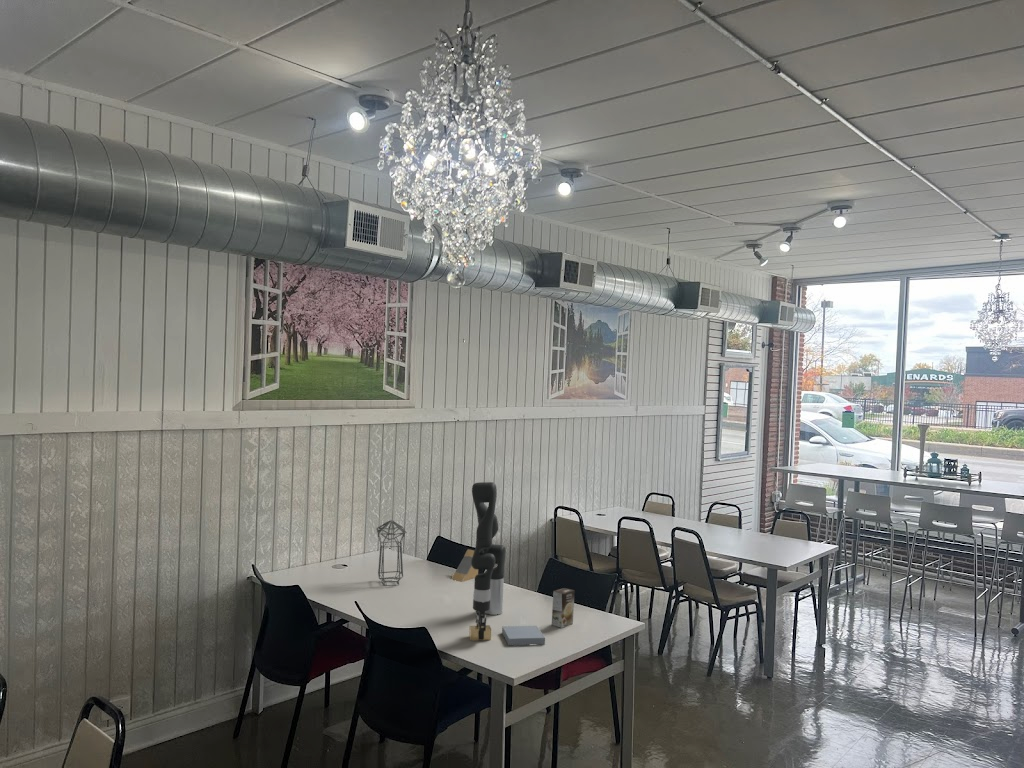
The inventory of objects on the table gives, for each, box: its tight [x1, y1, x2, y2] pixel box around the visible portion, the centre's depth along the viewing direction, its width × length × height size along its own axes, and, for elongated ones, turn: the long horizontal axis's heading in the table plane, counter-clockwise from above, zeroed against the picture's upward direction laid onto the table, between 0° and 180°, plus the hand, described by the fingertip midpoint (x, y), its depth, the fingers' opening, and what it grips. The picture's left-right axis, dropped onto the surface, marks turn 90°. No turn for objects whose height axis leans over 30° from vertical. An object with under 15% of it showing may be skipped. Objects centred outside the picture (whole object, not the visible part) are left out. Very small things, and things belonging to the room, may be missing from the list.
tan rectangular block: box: [468, 624, 492, 641], centre depth 326 cm, size 5×9×5 cm, turn 101°
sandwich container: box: [450, 548, 479, 583], centre depth 425 cm, size 9×15×15 cm, turn 146°
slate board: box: [501, 625, 546, 646], centre depth 328 cm, size 16×16×3 cm
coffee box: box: [551, 587, 576, 629], centre depth 350 cm, size 9×6×16 cm
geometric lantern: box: [375, 519, 407, 586], centre depth 407 cm, size 16×16×35 cm
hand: (480, 636), depth 326 cm, fingers open, 5 cm apart
